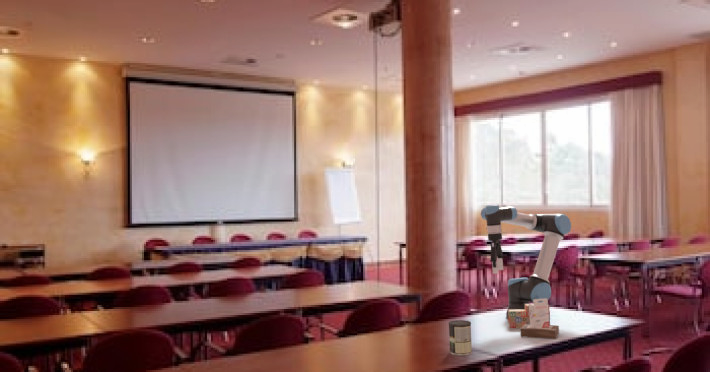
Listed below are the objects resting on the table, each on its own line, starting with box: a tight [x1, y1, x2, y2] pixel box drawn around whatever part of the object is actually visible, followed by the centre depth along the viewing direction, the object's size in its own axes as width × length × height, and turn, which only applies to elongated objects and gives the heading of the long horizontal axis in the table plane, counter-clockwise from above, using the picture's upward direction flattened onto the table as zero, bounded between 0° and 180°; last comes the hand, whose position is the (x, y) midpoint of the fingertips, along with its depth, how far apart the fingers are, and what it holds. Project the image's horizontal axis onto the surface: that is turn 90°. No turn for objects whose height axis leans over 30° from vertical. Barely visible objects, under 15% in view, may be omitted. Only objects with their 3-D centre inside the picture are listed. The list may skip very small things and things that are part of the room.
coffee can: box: [448, 319, 473, 356], centre depth 294 cm, size 10×10×14 cm
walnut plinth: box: [520, 324, 560, 340], centre depth 325 cm, size 13×17×4 cm
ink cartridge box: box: [529, 298, 550, 328], centre depth 325 cm, size 9×5×15 cm, turn 104°
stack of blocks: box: [507, 303, 551, 329], centre depth 345 cm, size 21×6×12 cm, turn 82°
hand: (498, 271), depth 347 cm, fingers open, 13 cm apart
